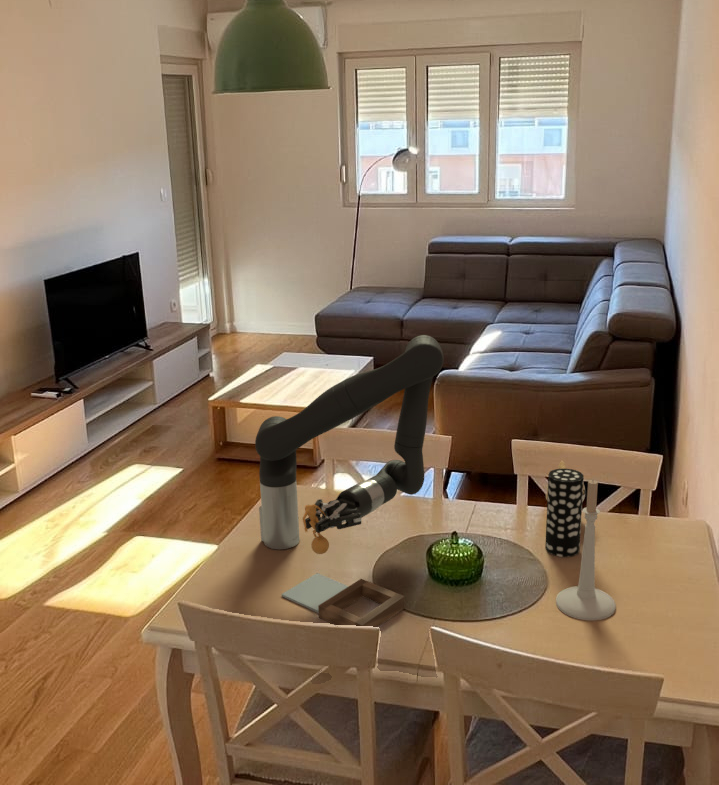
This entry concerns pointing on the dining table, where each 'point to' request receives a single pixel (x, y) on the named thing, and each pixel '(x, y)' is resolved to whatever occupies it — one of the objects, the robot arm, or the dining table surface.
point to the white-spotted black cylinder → (564, 512)
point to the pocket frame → (361, 588)
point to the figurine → (320, 542)
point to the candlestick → (587, 574)
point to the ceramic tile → (314, 591)
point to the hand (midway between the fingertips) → (311, 526)
